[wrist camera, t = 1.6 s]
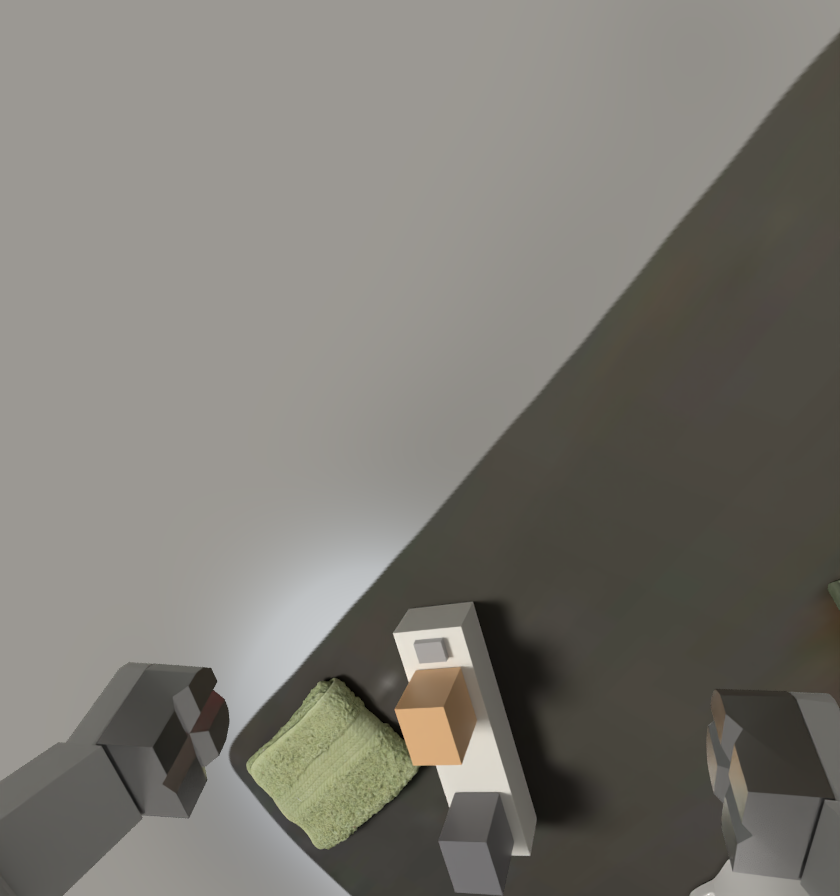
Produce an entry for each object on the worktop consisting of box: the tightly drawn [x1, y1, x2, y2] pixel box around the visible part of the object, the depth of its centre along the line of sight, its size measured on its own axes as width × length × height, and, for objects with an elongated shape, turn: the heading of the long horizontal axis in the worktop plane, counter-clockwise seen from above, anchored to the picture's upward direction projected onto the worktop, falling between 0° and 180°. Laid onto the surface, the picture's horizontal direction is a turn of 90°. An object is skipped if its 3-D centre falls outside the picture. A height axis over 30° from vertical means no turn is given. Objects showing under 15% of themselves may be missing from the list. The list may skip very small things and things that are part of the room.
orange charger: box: [395, 667, 477, 766], centre depth 51 cm, size 5×4×7 cm
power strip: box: [393, 602, 537, 856], centre depth 55 cm, size 22×6×5 cm, turn 17°
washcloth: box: [246, 678, 420, 849], centre depth 63 cm, size 13×18×3 cm
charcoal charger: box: [438, 793, 514, 895], centre depth 54 cm, size 5×4×7 cm
